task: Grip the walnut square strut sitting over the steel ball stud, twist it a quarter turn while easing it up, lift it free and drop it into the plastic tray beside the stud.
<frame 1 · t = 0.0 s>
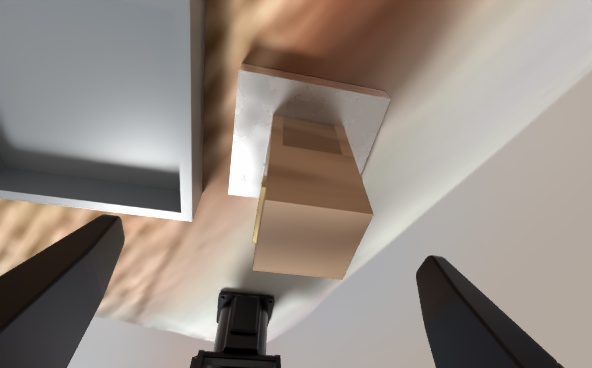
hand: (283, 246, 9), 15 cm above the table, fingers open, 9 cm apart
tray: (90, 93, 21), on the table
strut: (301, 151, 22), point 1 cm above the table, touching stud plate
stud plate: (300, 141, 23), on the table
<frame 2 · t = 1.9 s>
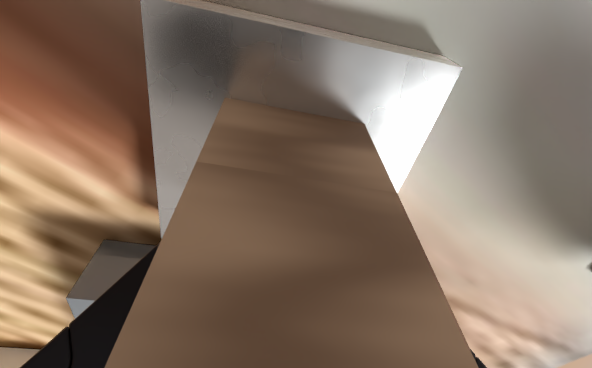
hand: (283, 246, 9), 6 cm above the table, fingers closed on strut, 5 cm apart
tray: (233, 323, 22), on the table
strut: (284, 169, 12), point 1 cm above the table, touching gripper, stud plate
stud plate: (284, 149, 13), on the table
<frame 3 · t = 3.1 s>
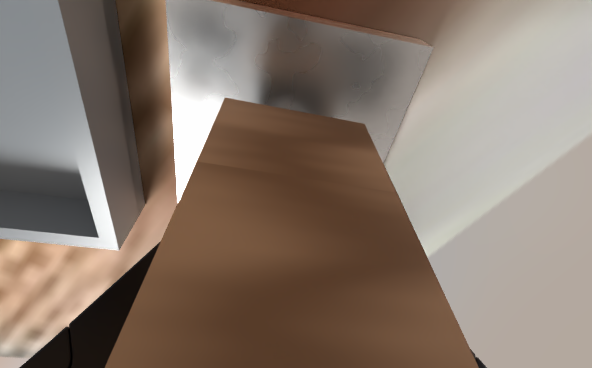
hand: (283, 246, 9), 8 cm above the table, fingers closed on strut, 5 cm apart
strut: (284, 169, 12), point 4 cm above the table, touching gripper
stud plate: (284, 125, 15), on the table
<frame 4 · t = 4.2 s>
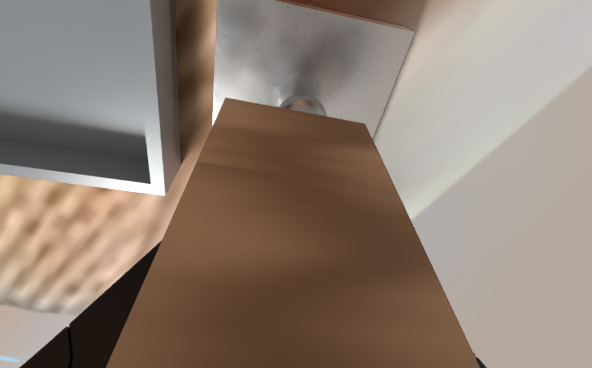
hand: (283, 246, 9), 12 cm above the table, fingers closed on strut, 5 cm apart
tray: (31, 28, 16), on the table
strut: (284, 168, 12), point 8 cm above the table, touching gripper
stud plate: (299, 96, 19), on the table
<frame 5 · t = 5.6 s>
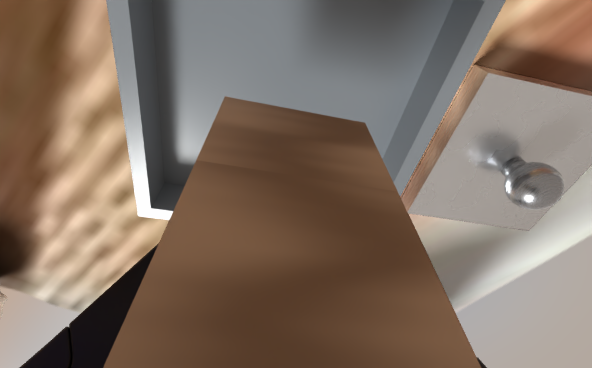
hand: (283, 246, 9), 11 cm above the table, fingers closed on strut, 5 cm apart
tray: (284, 99, 18), on the table
strut: (284, 168, 12), point 7 cm above the table, touching gripper
stud plate: (499, 154, 20), on the table
when the fingers open (7 cm above the table, at t = 6.6 s): strut drops 2 cm, resting on tray.
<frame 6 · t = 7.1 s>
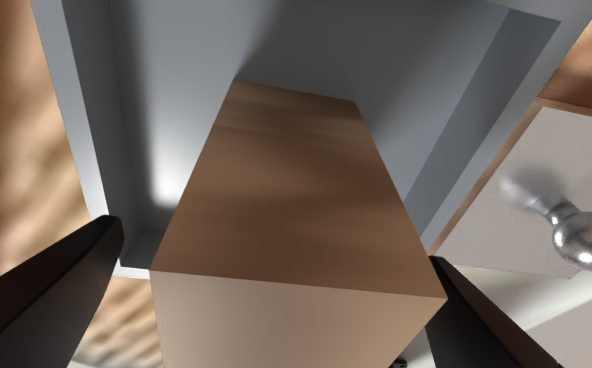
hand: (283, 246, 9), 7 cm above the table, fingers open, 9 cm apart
tray: (284, 133, 14), on the table
strut: (285, 144, 14), point 1 cm above the table, touching tray
stud plate: (540, 194, 17), on the table
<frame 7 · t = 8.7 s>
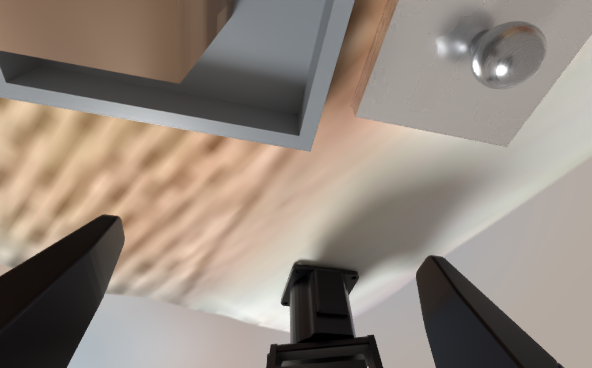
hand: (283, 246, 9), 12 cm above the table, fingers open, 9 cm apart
stud plate: (469, 37, 16), on the table
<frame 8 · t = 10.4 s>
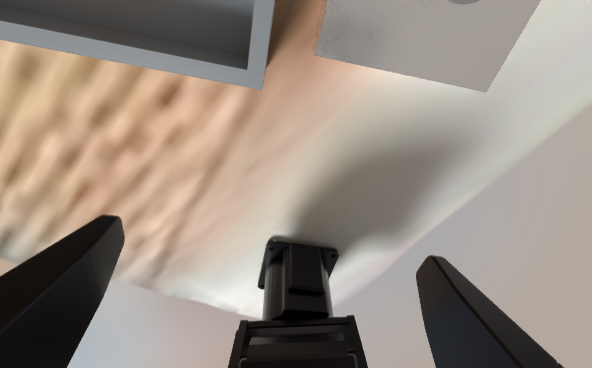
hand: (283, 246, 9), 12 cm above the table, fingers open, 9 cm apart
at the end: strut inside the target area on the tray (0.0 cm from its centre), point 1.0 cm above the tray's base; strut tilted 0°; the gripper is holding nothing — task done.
